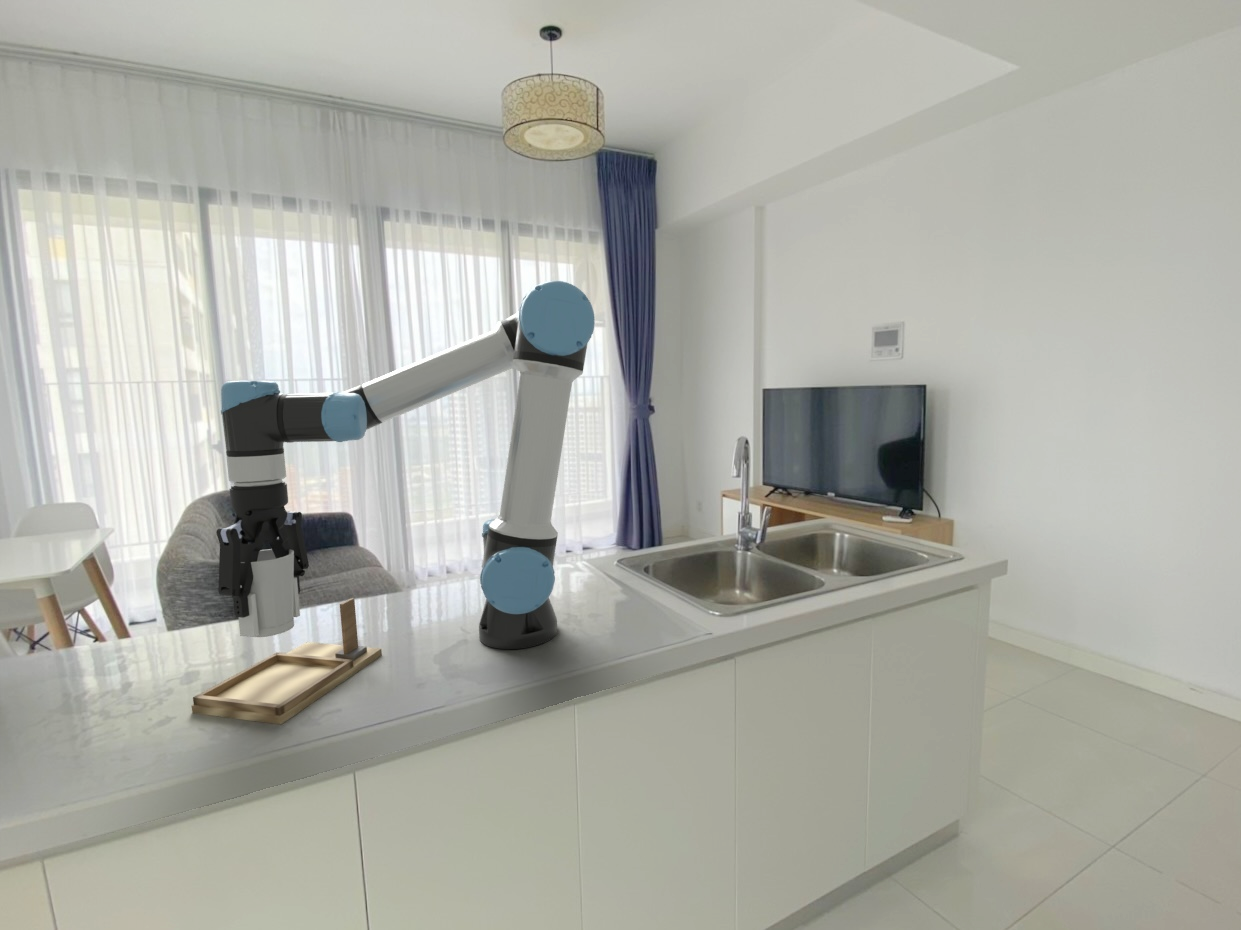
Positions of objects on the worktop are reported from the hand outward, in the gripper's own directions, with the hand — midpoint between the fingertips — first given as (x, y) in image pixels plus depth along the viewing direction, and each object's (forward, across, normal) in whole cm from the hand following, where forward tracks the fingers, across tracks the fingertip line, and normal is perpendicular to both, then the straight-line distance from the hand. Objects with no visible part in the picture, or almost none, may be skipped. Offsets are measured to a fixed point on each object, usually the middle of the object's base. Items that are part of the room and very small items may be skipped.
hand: (271, 625), depth 92 cm
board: (+11, -4, 0) cm, 12 cm away
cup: (+1, 0, 0) cm, 1 cm away
